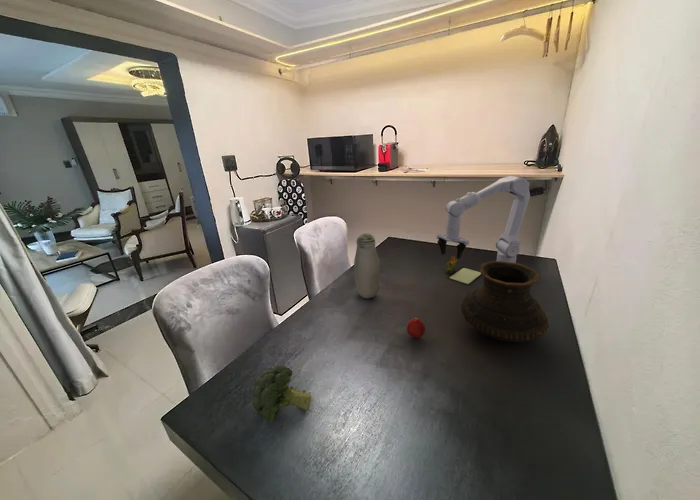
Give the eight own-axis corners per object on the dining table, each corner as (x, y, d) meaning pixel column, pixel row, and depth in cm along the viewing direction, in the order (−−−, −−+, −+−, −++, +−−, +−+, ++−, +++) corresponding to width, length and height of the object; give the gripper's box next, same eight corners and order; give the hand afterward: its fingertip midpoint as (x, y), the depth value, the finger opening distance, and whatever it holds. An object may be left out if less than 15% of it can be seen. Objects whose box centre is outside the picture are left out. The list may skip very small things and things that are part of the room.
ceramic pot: (447, 335, 87) (451, 275, 79) (474, 302, 103) (481, 249, 95) (533, 373, 71) (551, 302, 63) (550, 327, 87) (566, 266, 79)
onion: (413, 329, 91) (413, 310, 88) (428, 336, 87) (429, 316, 84) (403, 338, 88) (403, 318, 85) (418, 346, 84) (419, 325, 81)
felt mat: (463, 268, 131) (463, 267, 131) (482, 273, 125) (482, 272, 124) (449, 278, 123) (449, 277, 122) (468, 284, 116) (468, 283, 116)
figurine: (442, 275, 126) (443, 259, 123) (454, 266, 133) (455, 251, 130) (448, 276, 124) (449, 261, 121) (460, 268, 131) (462, 253, 128)
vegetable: (302, 436, 58) (237, 415, 57) (298, 425, 69) (244, 407, 68) (321, 378, 63) (262, 357, 62) (315, 377, 75) (265, 359, 74)
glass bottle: (368, 305, 107) (365, 240, 97) (352, 296, 114) (347, 235, 104) (384, 295, 113) (383, 233, 102) (368, 287, 120) (365, 229, 110)
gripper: (433, 227, 120) (432, 254, 125) (464, 233, 110) (461, 263, 115) (441, 224, 124) (440, 250, 129) (472, 229, 114) (469, 257, 119)
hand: (450, 256), depth 122 cm, fingers open, 7 cm apart
